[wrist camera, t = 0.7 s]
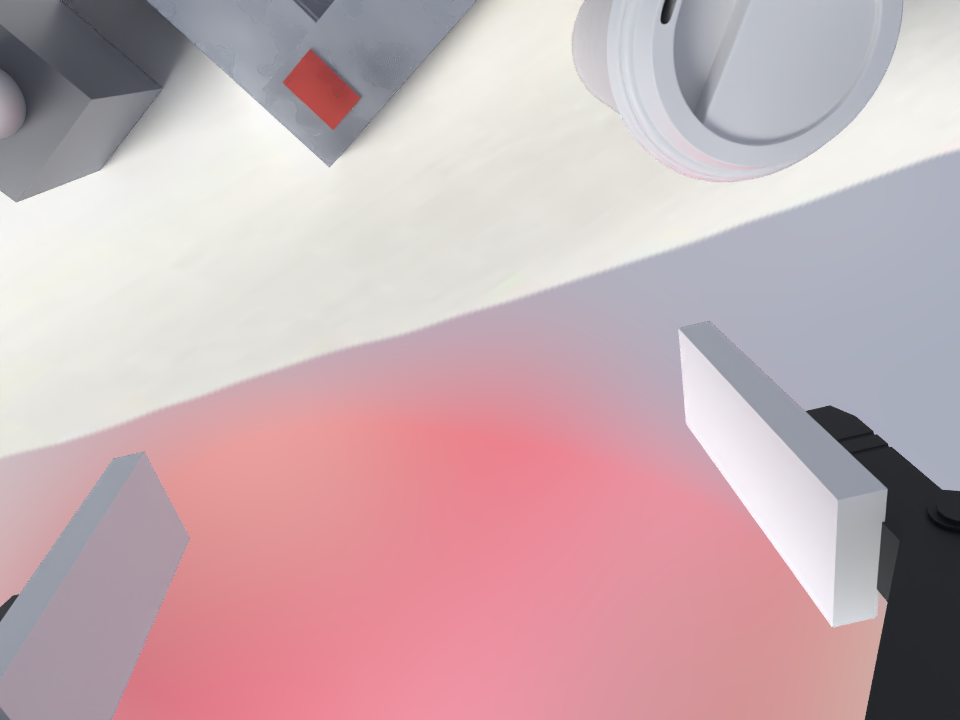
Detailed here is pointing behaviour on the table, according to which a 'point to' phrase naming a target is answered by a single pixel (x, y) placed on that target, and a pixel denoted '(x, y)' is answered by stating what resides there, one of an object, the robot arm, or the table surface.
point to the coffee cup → (734, 75)
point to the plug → (61, 97)
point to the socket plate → (317, 55)
